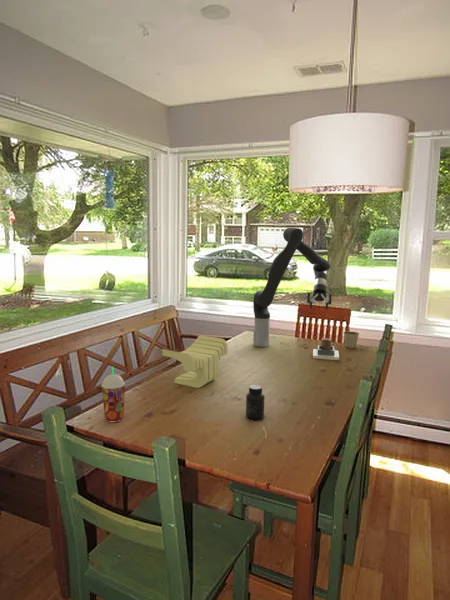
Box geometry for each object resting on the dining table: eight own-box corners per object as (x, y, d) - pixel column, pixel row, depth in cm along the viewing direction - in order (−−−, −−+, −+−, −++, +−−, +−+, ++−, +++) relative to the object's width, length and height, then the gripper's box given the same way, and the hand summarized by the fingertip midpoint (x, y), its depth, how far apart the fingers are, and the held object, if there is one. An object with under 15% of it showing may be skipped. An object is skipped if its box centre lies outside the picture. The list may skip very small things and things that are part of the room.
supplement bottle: (252, 412, 166) (253, 382, 164) (267, 417, 162) (268, 386, 160) (242, 418, 161) (242, 387, 159) (257, 423, 157) (257, 391, 155)
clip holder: (312, 358, 238) (313, 350, 237) (313, 351, 251) (313, 343, 250) (339, 360, 235) (339, 352, 234) (337, 353, 248) (338, 345, 247)
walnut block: (321, 353, 241) (321, 339, 240) (320, 351, 245) (321, 338, 244) (330, 354, 240) (331, 340, 239) (330, 352, 244) (330, 338, 243)
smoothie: (116, 412, 164) (115, 362, 161) (130, 419, 159) (129, 366, 156) (97, 420, 158) (95, 367, 155) (111, 426, 153) (110, 372, 149)
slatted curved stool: (193, 395, 182) (193, 354, 180) (162, 388, 190) (162, 349, 187) (227, 375, 208) (227, 339, 206) (199, 369, 216) (199, 335, 213)
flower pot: (339, 345, 264) (339, 332, 263) (351, 344, 268) (352, 330, 267) (349, 349, 256) (350, 335, 254) (361, 348, 260) (362, 334, 258)
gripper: (308, 282, 264) (306, 304, 254) (332, 283, 260) (331, 305, 251) (308, 290, 269) (306, 311, 260) (331, 291, 266) (330, 313, 257)
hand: (318, 308), depth 256 cm, fingers open, 8 cm apart
